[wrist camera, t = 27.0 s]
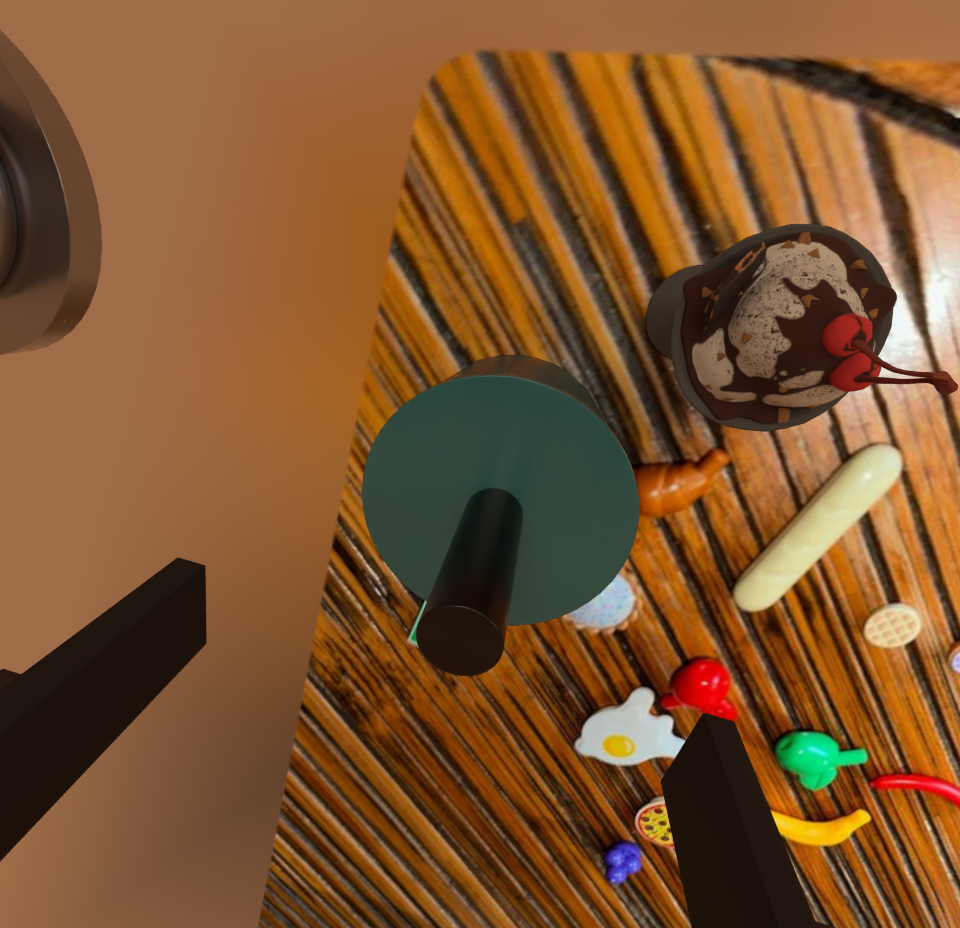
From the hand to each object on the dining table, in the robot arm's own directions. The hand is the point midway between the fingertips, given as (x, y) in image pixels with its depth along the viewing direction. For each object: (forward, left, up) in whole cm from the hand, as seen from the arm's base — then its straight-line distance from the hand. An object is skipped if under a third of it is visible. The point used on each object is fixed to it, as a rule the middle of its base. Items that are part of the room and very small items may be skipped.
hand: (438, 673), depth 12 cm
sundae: (+8, +10, -19) cm, 22 cm away
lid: (0, 0, -10) cm, 10 cm away
